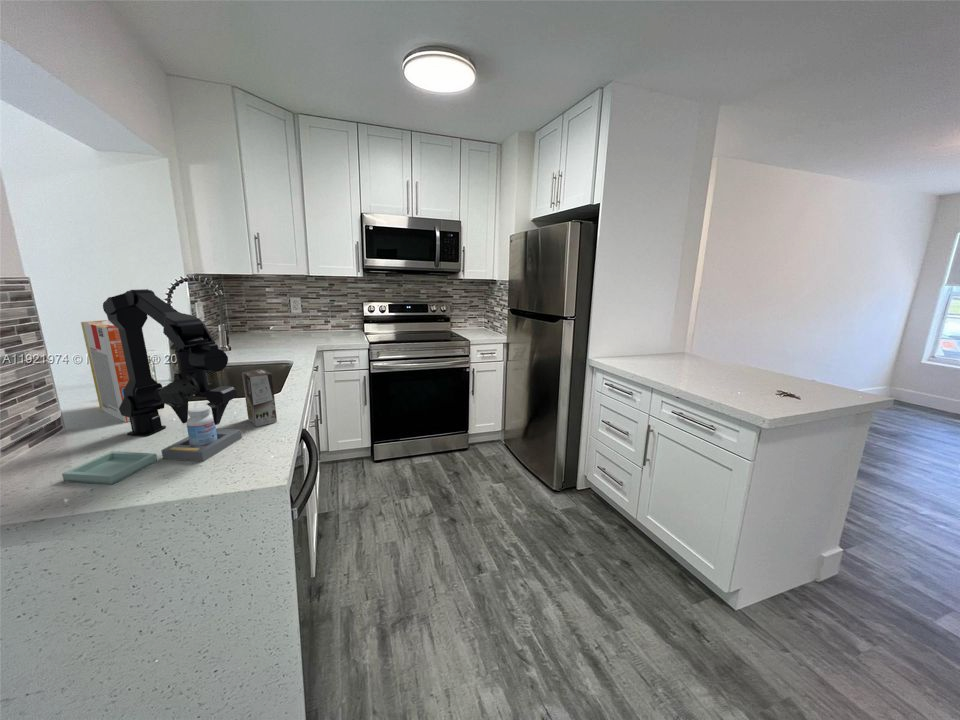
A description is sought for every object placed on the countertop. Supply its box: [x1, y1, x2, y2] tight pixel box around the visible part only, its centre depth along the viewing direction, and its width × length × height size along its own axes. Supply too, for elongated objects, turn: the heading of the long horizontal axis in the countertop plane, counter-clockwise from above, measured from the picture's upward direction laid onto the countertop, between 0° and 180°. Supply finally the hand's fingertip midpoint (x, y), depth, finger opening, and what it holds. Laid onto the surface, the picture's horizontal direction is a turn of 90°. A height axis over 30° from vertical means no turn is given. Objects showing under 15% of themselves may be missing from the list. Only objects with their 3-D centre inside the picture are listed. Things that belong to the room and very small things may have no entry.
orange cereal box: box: [80, 319, 130, 424], centre depth 124 cm, size 23×8×30 cm, turn 59°
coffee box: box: [241, 368, 278, 428], centre depth 120 cm, size 9×6×16 cm
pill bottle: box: [186, 405, 218, 446], centre depth 101 cm, size 6×6×11 cm
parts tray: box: [61, 450, 158, 485], centre depth 90 cm, size 12×11×2 cm
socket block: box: [161, 428, 243, 462], centre depth 102 cm, size 11×14×3 cm
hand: (201, 423), depth 101 cm, fingers open, 9 cm apart
